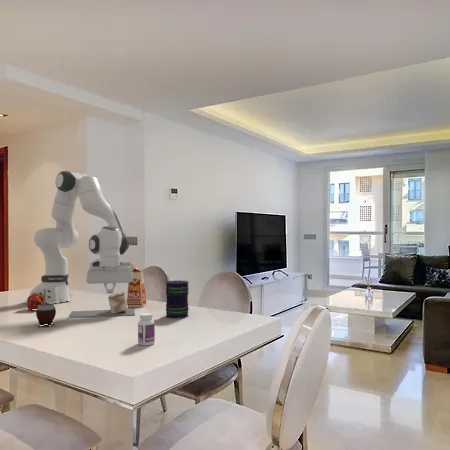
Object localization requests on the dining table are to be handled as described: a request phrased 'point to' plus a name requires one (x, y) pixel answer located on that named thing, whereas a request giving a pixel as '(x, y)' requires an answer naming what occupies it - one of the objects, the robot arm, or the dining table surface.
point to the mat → (101, 313)
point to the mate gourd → (45, 312)
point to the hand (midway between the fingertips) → (110, 293)
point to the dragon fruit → (35, 301)
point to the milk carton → (136, 290)
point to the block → (118, 302)
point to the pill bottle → (146, 330)
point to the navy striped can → (177, 299)
